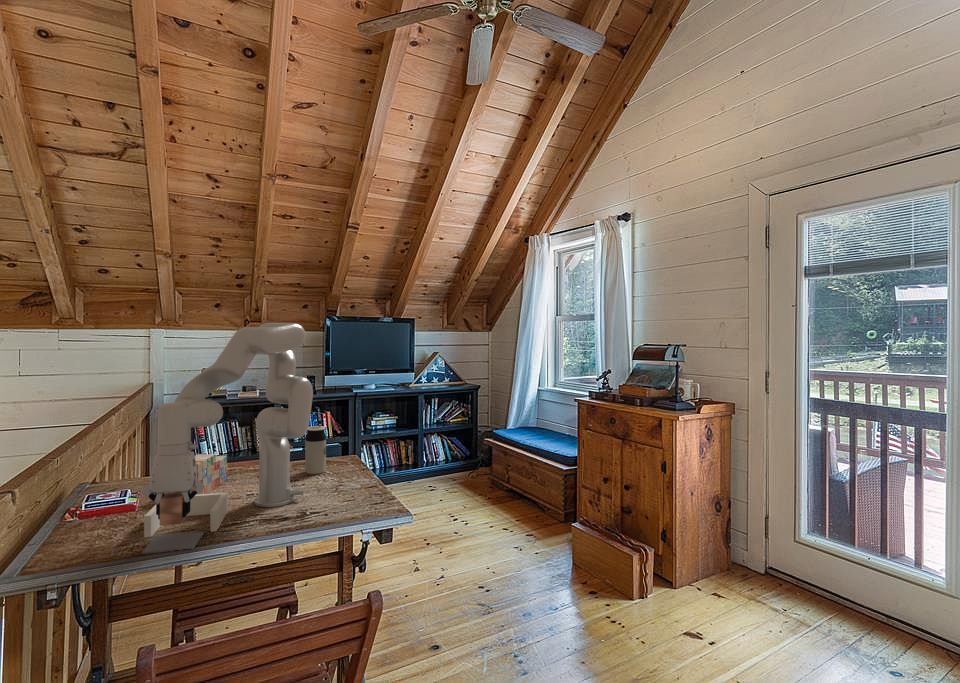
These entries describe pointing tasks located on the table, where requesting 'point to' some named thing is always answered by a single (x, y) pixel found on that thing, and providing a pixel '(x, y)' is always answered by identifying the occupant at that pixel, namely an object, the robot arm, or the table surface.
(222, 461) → the stack of blocks
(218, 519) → the u-shaped wall
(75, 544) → the table surface
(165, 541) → the mat
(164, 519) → the block
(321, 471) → the travel mug
